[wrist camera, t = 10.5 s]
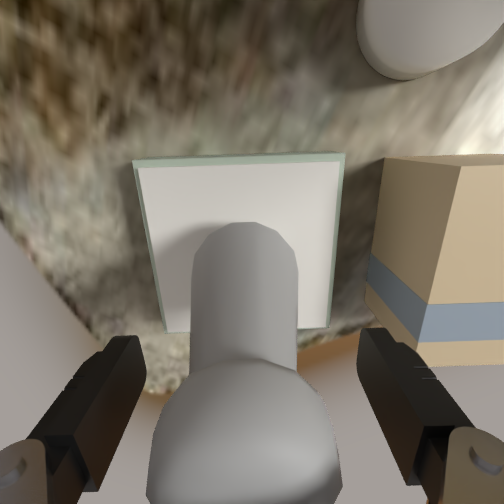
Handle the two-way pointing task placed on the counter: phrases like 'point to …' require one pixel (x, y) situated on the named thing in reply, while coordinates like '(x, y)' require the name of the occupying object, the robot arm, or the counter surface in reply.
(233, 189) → the podium
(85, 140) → the counter surface
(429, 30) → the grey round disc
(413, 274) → the kraft carton
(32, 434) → the robot arm
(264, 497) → the salt shaker
